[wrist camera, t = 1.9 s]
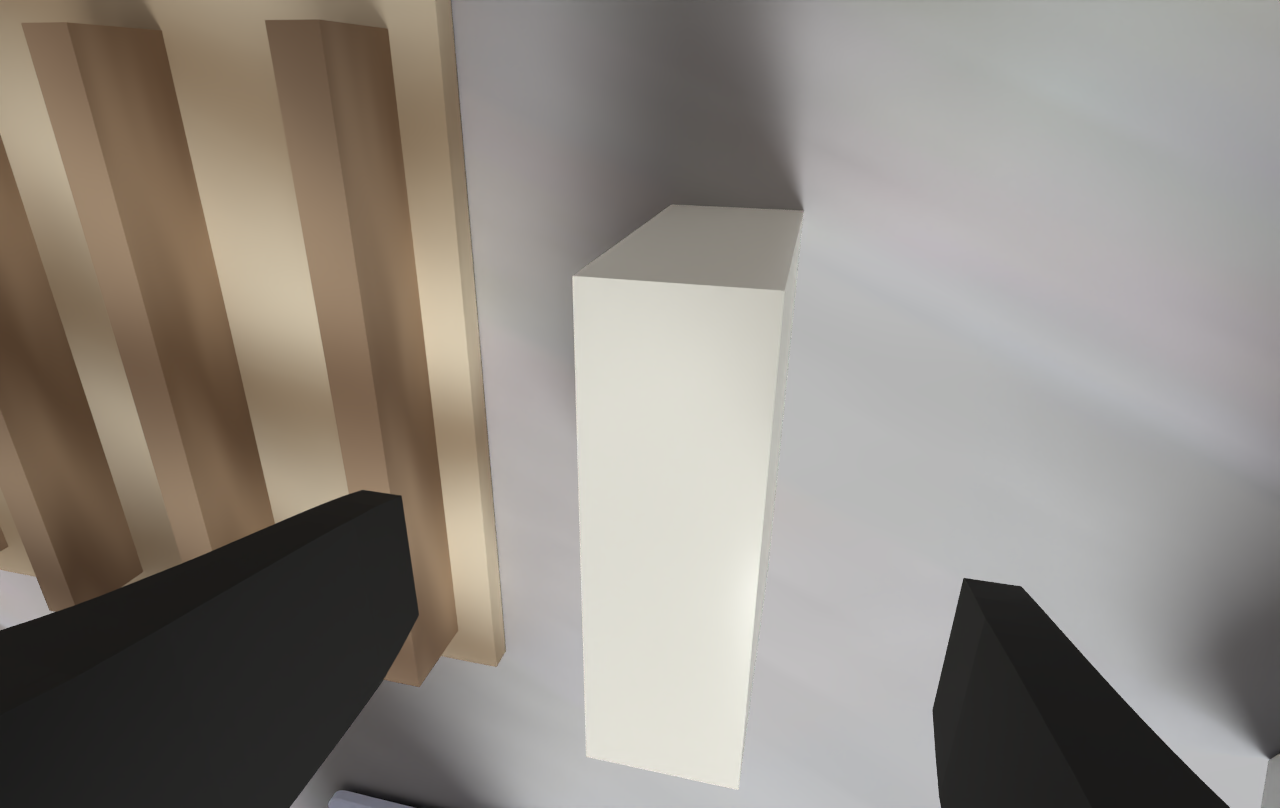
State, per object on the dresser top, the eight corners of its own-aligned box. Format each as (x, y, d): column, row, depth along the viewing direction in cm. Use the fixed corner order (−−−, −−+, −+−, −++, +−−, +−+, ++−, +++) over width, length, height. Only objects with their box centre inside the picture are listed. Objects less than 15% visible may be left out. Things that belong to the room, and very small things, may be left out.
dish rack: (505, 651, 20) (462, 726, 17) (-11, 552, 23) (-103, 604, 21) (447, -32, 13) (365, -57, 11) (-252, -13, 17) (-422, -29, 15)
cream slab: (768, 564, 17) (738, 789, 11) (663, 548, 17) (586, 756, 12) (804, 209, 13) (785, 290, 8) (672, 203, 14) (572, 275, 9)
